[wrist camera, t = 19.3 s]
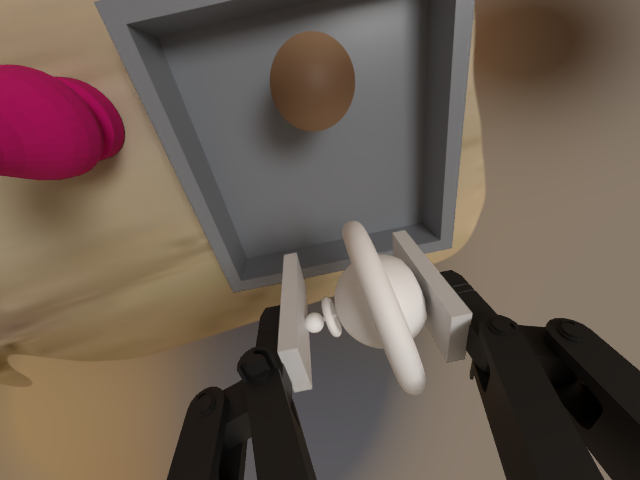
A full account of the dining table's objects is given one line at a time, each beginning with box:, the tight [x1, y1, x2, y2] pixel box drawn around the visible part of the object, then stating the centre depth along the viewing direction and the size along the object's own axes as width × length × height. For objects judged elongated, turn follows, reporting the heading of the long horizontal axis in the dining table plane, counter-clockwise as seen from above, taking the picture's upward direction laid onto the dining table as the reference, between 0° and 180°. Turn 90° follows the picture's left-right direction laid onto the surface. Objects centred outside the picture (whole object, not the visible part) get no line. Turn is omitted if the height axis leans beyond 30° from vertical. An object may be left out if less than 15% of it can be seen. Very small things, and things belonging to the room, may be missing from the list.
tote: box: [94, 0, 475, 293], centre depth 22 cm, size 22×22×5 cm
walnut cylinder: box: [270, 31, 355, 132], centre depth 18 cm, size 5×5×7 cm
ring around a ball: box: [305, 221, 427, 395], centre depth 12 cm, size 8×6×8 cm
